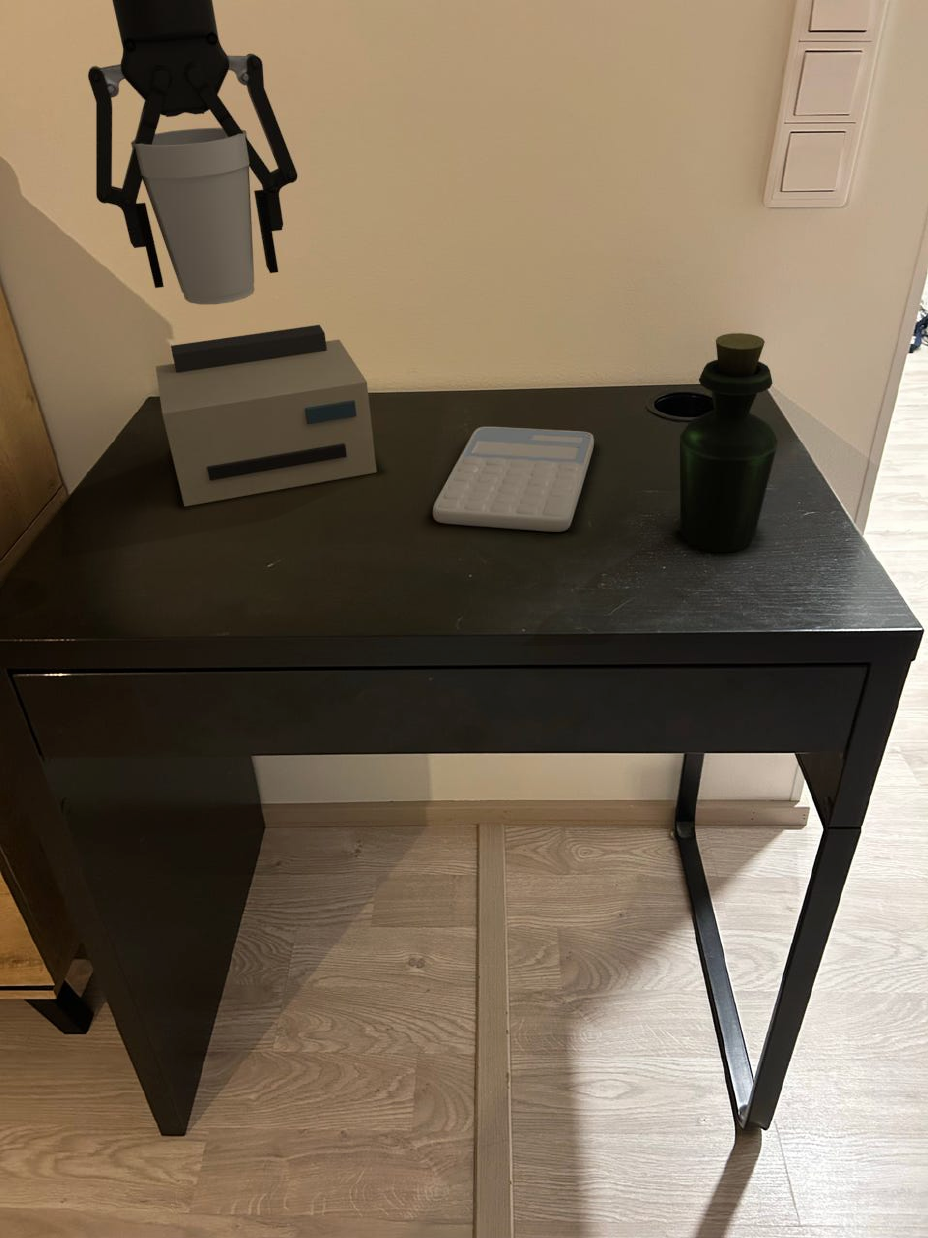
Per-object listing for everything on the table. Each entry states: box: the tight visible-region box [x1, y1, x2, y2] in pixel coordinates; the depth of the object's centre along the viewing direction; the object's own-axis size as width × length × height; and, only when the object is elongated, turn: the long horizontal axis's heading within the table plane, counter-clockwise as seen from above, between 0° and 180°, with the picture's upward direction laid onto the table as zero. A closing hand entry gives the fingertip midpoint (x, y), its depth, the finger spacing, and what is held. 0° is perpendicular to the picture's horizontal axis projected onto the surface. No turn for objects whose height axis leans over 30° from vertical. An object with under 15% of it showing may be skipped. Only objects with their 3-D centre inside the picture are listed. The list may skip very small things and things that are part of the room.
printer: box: [155, 324, 377, 507], centre depth 101 cm, size 20×14×12 cm
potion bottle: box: [679, 332, 779, 553], centre depth 82 cm, size 8×8×18 cm
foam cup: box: [130, 127, 255, 306], centre depth 84 cm, size 10×9×13 cm
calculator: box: [432, 426, 595, 533], centre depth 97 cm, size 13×20×2 cm, turn 167°
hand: (216, 276), depth 86 cm, fingers closed on foam cup, 9 cm apart
